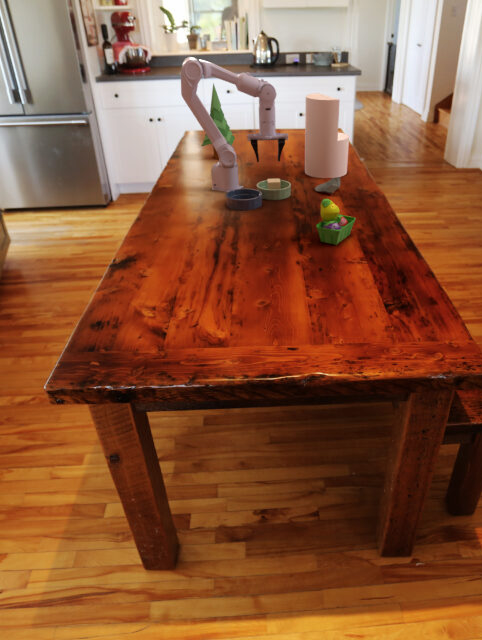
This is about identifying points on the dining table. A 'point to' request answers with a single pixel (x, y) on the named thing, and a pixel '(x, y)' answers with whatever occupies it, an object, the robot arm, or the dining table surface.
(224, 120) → the decorative tree
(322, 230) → the fruit basket
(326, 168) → the cylinder
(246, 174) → the dining table surface
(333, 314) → the dining table surface
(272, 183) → the block
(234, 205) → the slate bowl
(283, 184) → the sage bowl
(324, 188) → the stone
